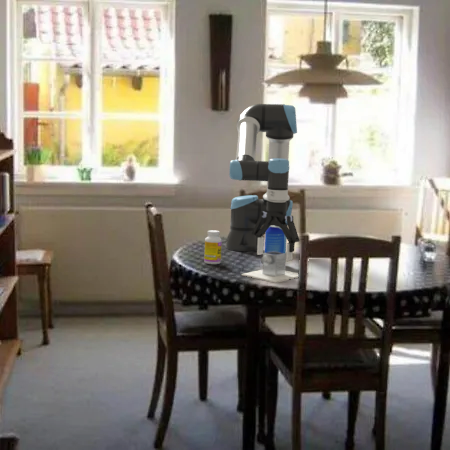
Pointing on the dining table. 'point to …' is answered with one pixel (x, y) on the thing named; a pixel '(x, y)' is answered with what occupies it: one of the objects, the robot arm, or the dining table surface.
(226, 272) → the dining table surface
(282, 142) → the robot arm
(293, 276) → the panel
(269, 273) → the elbow sleeve
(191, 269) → the dining table surface
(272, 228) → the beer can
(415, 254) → the dining table surface
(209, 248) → the supplement bottle
